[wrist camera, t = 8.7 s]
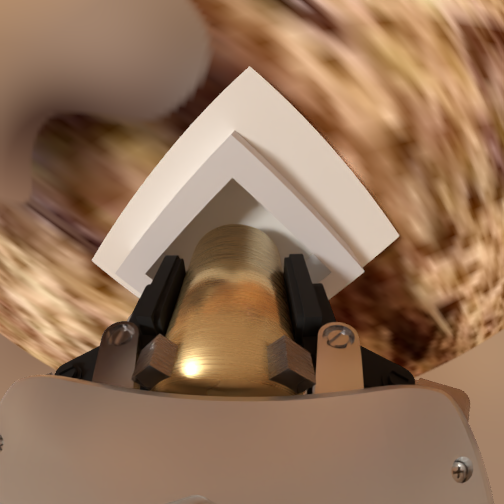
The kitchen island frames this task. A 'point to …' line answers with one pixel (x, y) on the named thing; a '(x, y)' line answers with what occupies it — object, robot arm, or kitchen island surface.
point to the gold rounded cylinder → (229, 325)
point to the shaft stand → (249, 194)
